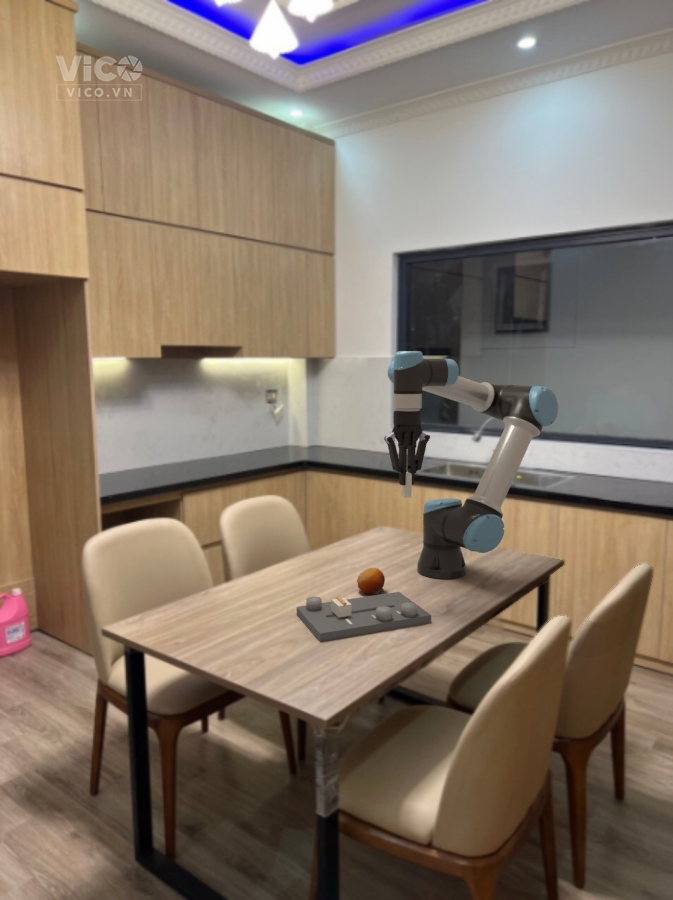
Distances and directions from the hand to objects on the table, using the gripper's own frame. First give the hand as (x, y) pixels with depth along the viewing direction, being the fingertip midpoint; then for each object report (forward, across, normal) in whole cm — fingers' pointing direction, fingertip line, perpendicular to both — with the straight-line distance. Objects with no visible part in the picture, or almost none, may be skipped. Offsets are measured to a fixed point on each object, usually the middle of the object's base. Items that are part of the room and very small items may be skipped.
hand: (406, 496), depth 175 cm
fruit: (+30, +6, -10) cm, 32 cm away
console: (+29, +16, +7) cm, 34 cm away
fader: (+27, +22, +7) cm, 36 cm away
